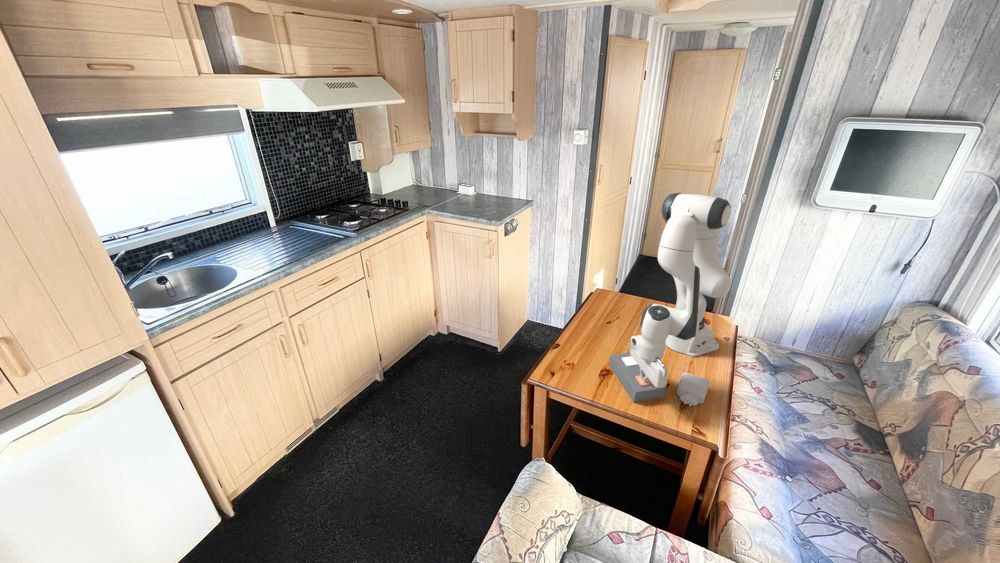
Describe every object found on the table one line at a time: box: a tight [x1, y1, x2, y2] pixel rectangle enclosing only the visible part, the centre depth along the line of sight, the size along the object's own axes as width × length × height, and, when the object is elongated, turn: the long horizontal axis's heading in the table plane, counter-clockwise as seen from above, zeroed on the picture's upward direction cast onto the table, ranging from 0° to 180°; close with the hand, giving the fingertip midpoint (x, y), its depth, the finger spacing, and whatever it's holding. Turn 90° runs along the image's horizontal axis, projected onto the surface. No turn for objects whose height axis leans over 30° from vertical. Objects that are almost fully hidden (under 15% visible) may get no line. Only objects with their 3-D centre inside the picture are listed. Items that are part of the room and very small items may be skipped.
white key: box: [621, 356, 639, 367], centre depth 158 cm, size 5×5×3 cm
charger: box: [676, 372, 710, 407], centre depth 146 cm, size 5×9×15 cm
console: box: [608, 352, 667, 403], centre depth 153 cm, size 12×21×5 cm, turn 11°
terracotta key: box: [635, 375, 653, 387], centre depth 148 cm, size 5×5×3 cm
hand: (644, 379), depth 147 cm, fingers closed, pressing on terracotta key
